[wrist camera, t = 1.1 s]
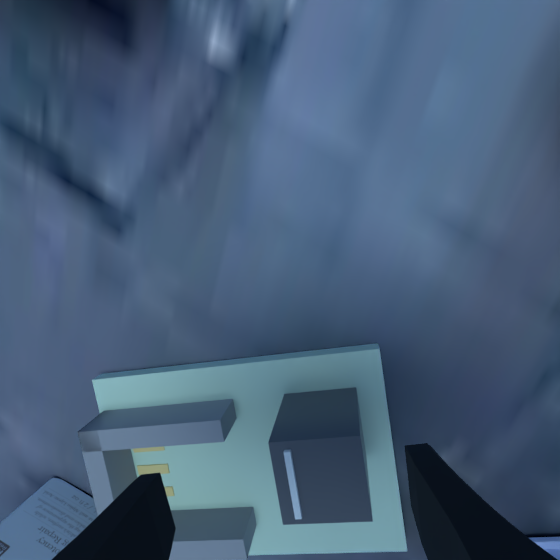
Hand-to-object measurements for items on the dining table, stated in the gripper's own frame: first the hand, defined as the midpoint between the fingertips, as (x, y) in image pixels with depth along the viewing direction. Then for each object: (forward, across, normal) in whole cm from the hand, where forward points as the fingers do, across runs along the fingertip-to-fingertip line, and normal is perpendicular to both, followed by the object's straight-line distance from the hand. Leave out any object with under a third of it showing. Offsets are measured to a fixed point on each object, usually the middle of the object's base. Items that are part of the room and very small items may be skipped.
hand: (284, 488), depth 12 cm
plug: (+10, -1, +5) cm, 11 cm away
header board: (+11, +4, +7) cm, 14 cm away
